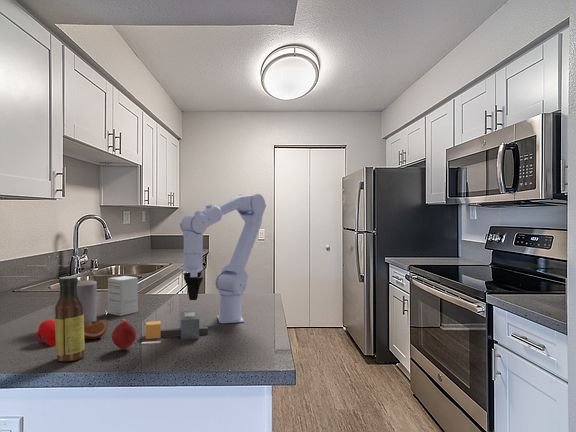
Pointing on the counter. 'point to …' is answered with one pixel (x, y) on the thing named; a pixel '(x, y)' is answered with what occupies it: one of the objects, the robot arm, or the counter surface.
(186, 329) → the housing
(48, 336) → the cap
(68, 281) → the sauce bottle
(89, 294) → the pillar candle
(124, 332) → the red rounded lump
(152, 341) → the white slender bar
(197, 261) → the robot arm
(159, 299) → the counter surface
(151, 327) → the orange and grey bar
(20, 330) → the counter surface
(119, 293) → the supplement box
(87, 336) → the fruit slice
